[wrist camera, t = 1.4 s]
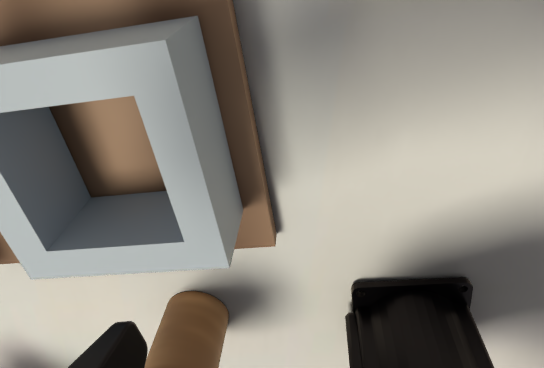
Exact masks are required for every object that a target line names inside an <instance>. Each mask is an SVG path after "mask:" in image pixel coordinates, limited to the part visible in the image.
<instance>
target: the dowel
mask: <svg viewBox="0 0 544 368" xmlns="http://www.w3.org/2000/svg"><path fill="white" fill-rule="evenodd" d="M228 319H229V313H228V310H227V308H226V306H225V305H224V304H223V303H222V302H221V301H220V300H219V299H217V298H215V297H214V296H212V295H209V294H207V293H203V292H198V291H186V292H181V293H178V294H176V295H175V296H173V297H172V298H171V299H170V300H169V302H168V304H167V307H166V310H165V312H164V315H163V318H162V320H161V323H160V325H159V328H158V331H157V333H156V336H155V338H154V341H153V344H152V346H151V349H150V351H149V354H148V357H147V359H146V363H145V368H218V367H219V362H220V357H221V352H222V348H223V343H224V338H225V333H226V329H227V324H228Z"/></svg>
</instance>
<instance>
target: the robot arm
mask: <svg viewBox="0 0 544 368" xmlns="http://www.w3.org/2000/svg"><path fill="white" fill-rule="evenodd" d="M461 286H463V287H461ZM358 291H361V292H358ZM472 291H473V287H472V284H471V282H470V280H469V279H467V278H464V277H458V278H438V279H417V280H397V281H377V282H359V283H355V284H354V285H353V286H352V287H351V294H352V308H353V313H348V314H347V315H346V316H345V319H346V331H347V342H348V353H349V364H350V368H494V366H493V364H492V361H491V359H490V357H489V354H488V352H487V349H486V347H485V345H484V342H483V340H482V338H481V335H480V333H479V331H478V328H477V326H476V323H475V321H474V319H473V316H472V314H471V312H470V304H471V297H472ZM146 358H147V344H146V341H145V340H144V338H143V336H142V334H141V333H140V331H139V329H138V328H137V326H136V324H135V323H134V322H132V321H126V322H117V323H115V324H113V325H112V326H111V327H110V328H109V329H108V330H107V331H106V332H104V333H103V334H102V335H101V336H100V337H99V338H98V339H97V340H96V341H95V342H94V343H93V344H92V345H91V346H90V347H89V348H88V349H87V350H86V351H85V352H84V353H83V354H82V355H80V356H79V357H78V358H77V359H76V360H75V361H74V362H73V363H72V364H71V365H70V366H69V367H68V368H145V363H146Z"/></svg>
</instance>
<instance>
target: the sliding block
mask: <svg viewBox="0 0 544 368" xmlns="http://www.w3.org/2000/svg"><path fill="white" fill-rule="evenodd" d="M128 96H134V97H135V100H136V103H137V106H138V109H139V112H140V115H141V117H142V120H143V123H144V126H145V129H146V132H147V135H148V138H149V141H150V144H151V146H152V149H153V152H154V155H155V158H156V161H157V164H158V167H159V170H160V172H161V175H162V178H163V181H164V184H165V187H166V190H167V191H159V192H147V193H136V194H125V195H114V196H103V197H91V196H90V194H89V192H88V190H87V188H86V186H85V184H84V181H83V179H82V177H81V175H80V173H79V171H78V169H77V166H76V164H75V162H74V160H73V158H72V156H71V154H70V151H69V149H68V147H67V145H66V143H65V141H64V139H63V136H62V134H61V132H60V130H59V128H58V126H57V124H56V121H55V119H54V117H53V115H52V113H51V111H50V109H49V107H50V106H57V105H65V104H73V103H81V102H89V101H96V100H104V99H112V98H120V97H128ZM242 214H243V207H242V202H241V198H240V194H239V189H238V185H237V181H236V177H235V172H234V168H233V164H232V160H231V155H230V151H229V147H228V142H227V138H226V134H225V130H224V125H223V121H222V117H221V113H220V108H219V104H218V100H217V95H216V91H215V87H214V83H213V78H212V74H211V70H210V65H209V61H208V57H207V53H206V48H205V44H204V40H203V36H202V31H201V27H200V23H199V18H198V16H192V17H186V18H179V19H173V20H166V21H160V22H154V23H147V24H141V25H134V26H128V27H122V28H115V29H109V30H102V31H96V32H90V33H83V34H77V35H70V36H64V37H58V38H51V39H45V40H38V41H32V42H26V43H19V44H13V45H6V46H0V232H1V234H2V235H3V237H4V239H5V240H6V242H7V243H8V245H9V246H10V248H11V249H12V251H13V253H14V254H15V256H16V257H17V259H18V260H19V262H20V263H21V265H22V267H23V268H24V270H25V271H26V273H27V274H28V276H29V277H30V279H48V278H66V277H83V276H100V275H117V274H135V273H152V272H169V271H187V270H204V269H221V268H230V264H231V260H232V256H233V251H234V247H235V243H236V239H237V235H238V230H239V226H240V222H241V218H242Z"/></svg>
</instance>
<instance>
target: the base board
mask: <svg viewBox="0 0 544 368" xmlns="http://www.w3.org/2000/svg"><path fill="white" fill-rule="evenodd" d="M192 16H198V18H199V23H200V27H201V31H202V36H203V40H204V44H205V48H206V53H207V57H208V61H209V65H210V70H211V74H212V78H213V83H214V87H215V91H216V95H217V100H218V104H219V108H220V113H221V117H222V121H223V125H224V130H225V134H226V138H227V142H228V147H229V151H230V155H231V160H232V164H233V168H234V172H235V177H236V181H237V185H238V189H239V194H240V198H241V202H242V207H243V214H242V218H241V222H240V226H239V230H238V235H237V239H236V243H235V247H234V249H240V248H256V247H271V246H275V244H276V235H277V234H276V228H275V223H274V218H273V212H272V207H271V202H270V196H269V191H268V186H267V180H266V175H265V170H264V164H263V159H262V154H261V149H260V143H259V138H258V133H257V127H256V122H255V117H254V111H253V106H252V101H251V95H250V90H249V85H248V79H247V74H246V69H245V63H244V58H243V53H242V48H241V42H240V37H239V32H238V26H237V21H236V16H235V10H234V5H233V0H0V46H6V45H13V44H19V43H26V42H32V41H38V40H45V39H51V38H58V37H64V36H70V35H77V34H83V33H90V32H96V31H102V30H109V29H115V28H122V27H128V26H134V25H141V24H147V23H154V22H160V21H166V20H173V19H179V18H186V17H192ZM49 109H50V111H51V113H52V115H53V117H54V119H55V121H56V124H57V126H58V128H59V130H60V132H61V134H62V136H63V139H64V141H65V143H66V145H67V147H68V149H69V151H70V154H71V156H72V158H73V160H74V162H75V164H76V166H77V169H78V171H79V173H80V175H81V177H82V179H83V181H84V184H85V186H86V188H87V190H88V192H89V194H90V196H91V197H103V196H114V195H125V194H136V193H147V192H159V191H167V190H166V187H165V184H164V181H163V178H162V175H161V172H160V170H159V167H158V164H157V161H156V158H155V155H154V152H153V149H152V146H151V144H150V141H149V138H148V135H147V132H146V129H145V126H144V123H143V120H142V117H141V115H140V112H139V109H138V106H137V103H136V100H135V97H134V96H128V97H120V98H112V99H104V100H96V101H89V102H81V103H73V104H65V105H57V106H50V107H49ZM9 263H20V262H19V260H18V259H17V257H16V256H15V254H14V253H13V251H12V249H11V248H10V246H9V245H8V243H7V242H6V240H5V239H4V237H3V235H2V234H1V232H0V264H9Z"/></svg>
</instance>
